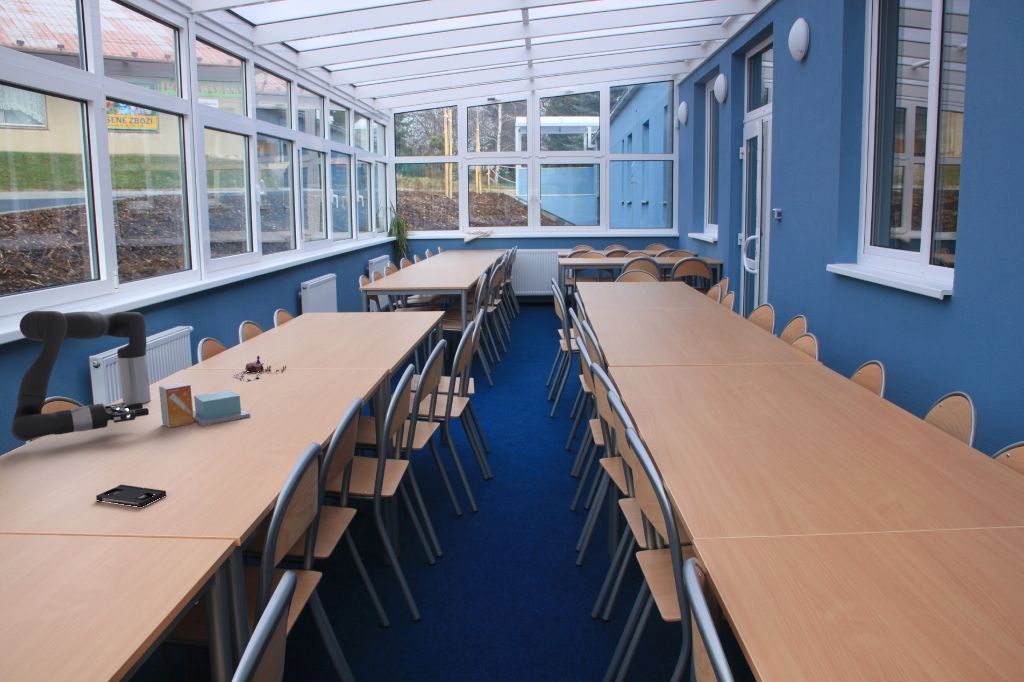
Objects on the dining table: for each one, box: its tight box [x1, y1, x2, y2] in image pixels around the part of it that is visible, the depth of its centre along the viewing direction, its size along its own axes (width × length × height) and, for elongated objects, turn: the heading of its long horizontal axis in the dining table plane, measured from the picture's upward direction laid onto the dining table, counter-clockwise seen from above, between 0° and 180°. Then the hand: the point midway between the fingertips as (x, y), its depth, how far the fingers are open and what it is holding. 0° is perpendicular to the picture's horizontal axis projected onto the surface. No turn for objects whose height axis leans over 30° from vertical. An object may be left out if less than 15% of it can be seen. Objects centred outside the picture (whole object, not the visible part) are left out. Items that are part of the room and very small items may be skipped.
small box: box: [158, 381, 195, 428], centre depth 250 cm, size 8×6×13 cm
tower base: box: [193, 389, 251, 427], centre depth 258 cm, size 16×16×7 cm
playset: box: [233, 355, 287, 381], centre depth 320 cm, size 25×19×7 cm
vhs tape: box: [95, 484, 167, 507], centre depth 188 cm, size 14×8×2 cm, turn 71°
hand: (145, 408), depth 244 cm, fingers open, 8 cm apart
